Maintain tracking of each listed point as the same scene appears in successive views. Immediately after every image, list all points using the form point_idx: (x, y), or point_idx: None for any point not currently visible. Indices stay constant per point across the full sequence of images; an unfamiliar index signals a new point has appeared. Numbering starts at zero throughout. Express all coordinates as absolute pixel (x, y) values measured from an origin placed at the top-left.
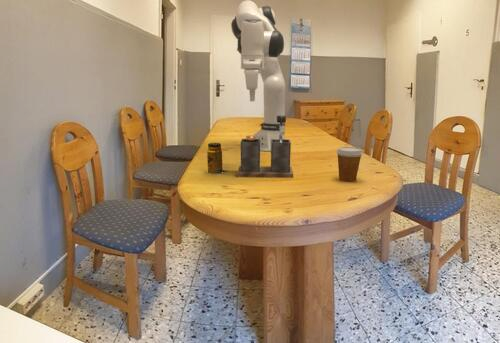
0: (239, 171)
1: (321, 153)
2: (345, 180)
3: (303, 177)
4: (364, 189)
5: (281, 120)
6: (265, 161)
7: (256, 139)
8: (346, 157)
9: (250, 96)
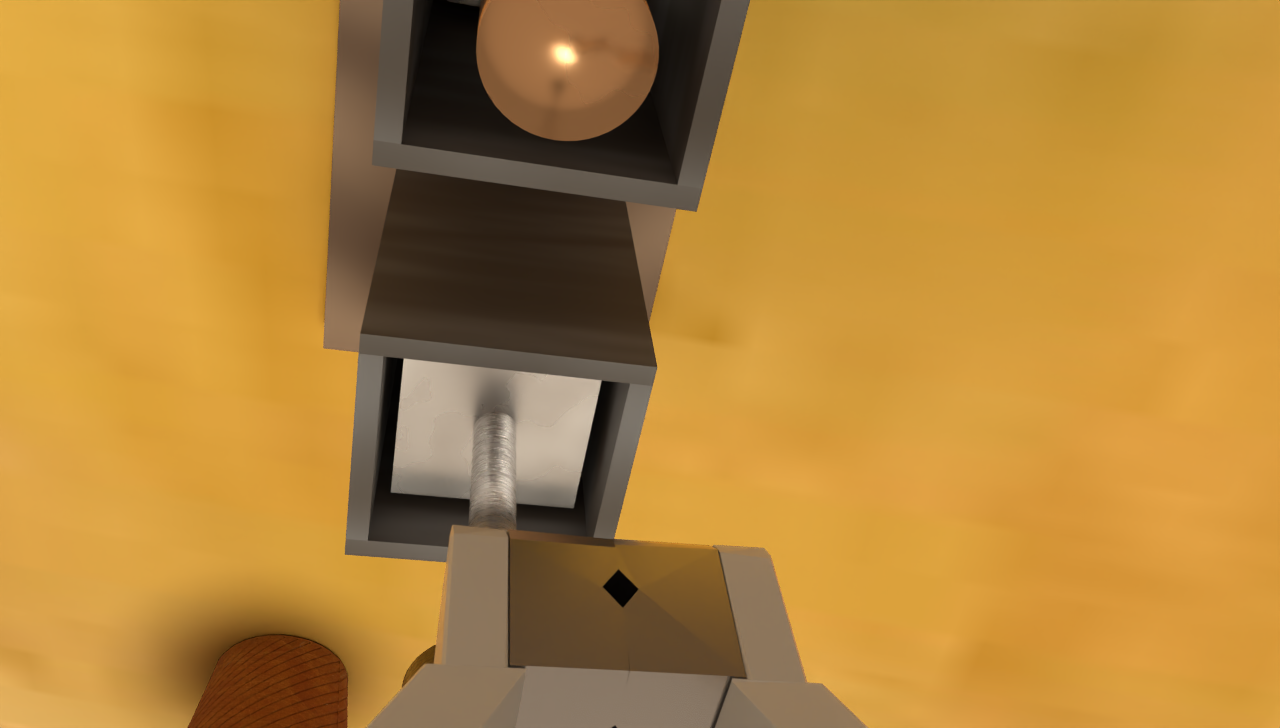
0: None
1: (1202, 691)
2: (217, 663)
3: (346, 411)
4: (12, 708)
5: None
6: (1096, 171)
7: (684, 146)
8: None
9: (415, 692)
